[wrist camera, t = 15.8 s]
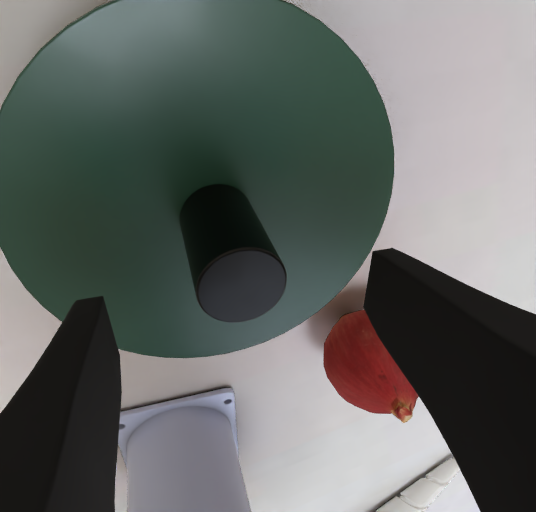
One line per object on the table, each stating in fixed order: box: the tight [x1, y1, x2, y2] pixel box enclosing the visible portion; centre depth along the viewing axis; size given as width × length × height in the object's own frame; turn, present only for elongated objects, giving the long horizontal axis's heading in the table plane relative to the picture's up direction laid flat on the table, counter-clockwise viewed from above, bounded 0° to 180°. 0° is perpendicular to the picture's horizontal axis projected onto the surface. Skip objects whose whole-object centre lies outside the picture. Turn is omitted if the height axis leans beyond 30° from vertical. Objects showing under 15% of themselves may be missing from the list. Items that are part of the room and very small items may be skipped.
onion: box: [324, 310, 419, 423], centre depth 25 cm, size 6×6×8 cm
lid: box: [0, 0, 394, 358], centre depth 14 cm, size 14×14×5 cm
